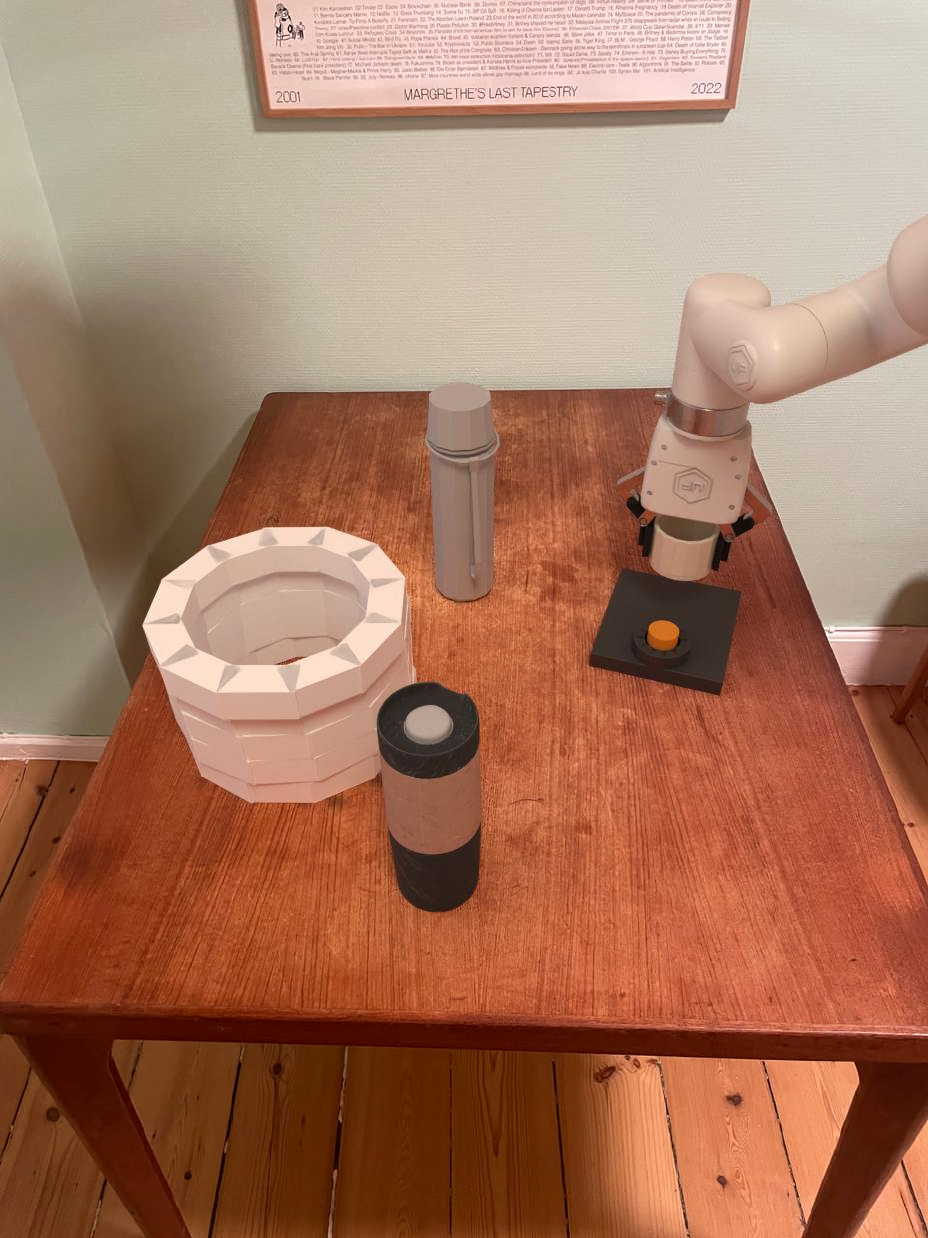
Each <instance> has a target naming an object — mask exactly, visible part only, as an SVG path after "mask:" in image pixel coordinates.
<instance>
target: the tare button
mask: <svg viewBox="0 0 928 1238" xmlns="http://www.w3.org/2000/svg"><path fill="white" fill-rule="evenodd" d="M678 637H679V629H678V627H677V626H676V625H675V624H673V623H671V622H669V621H663V620H660V621H655V622H653V623H652V624H650V626H649V629H648V635H647V642H648V644H649V645H650V646H651V647H653V648H654V649H659V650H663V651H666V650H671V649H673V648H675V647H676V645H677V642H678Z"/></svg>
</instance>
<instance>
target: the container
mask: <svg viewBox="0 0 928 1238" xmlns="http://www.w3.org/2000/svg"><path fill="white" fill-rule="evenodd" d="M412 622H413V620H412V607H411V596H410V595H409V594H408V591H407V578H406V577H405V575H404V574H403V573H402V572H401V571H400V569H399V568H398V567H397V566H396V564H395V563H394V562H393V561H392V560H391V558H389V556H388V555H387V554H386V553H385V552H384V551H383V550H382V548H381V547H380V545H379V544H378V543H375V542H372V541H370V540H367V539H364V538H361V537H358V536H355V535H353V534H349V533H346V532H344V531H341V530H338V529H335V528H333V527H330V526H284V527H283V526H281V527H277V526H276V527H275V526H274V527H272V526H271V527H263V528H261V529H257V530H255V531H251V532H248V533H245V534H241V535H238V536H235V537H231V538H229V539H226V540H225V539H224V540H222V541H219V542H216V543H211V544H208V545H205V547H204V548H201V550H199V551H198V552H196V553H195V554H194V555H192V556H191V557H190V558H188V559H187V560H186V561H185V562H183V563H182V564H180V565H178V567H176V568H175V569H174V570H172V571H170V572H169V573H168V574H167V575H166V576H164V577H163V578H161V580H160V583H159V586H158V589H157V590H156V592H155V595H154V597H153V600H152V601H151V605H150V607H149V609H148V611H147V614H146V616H145V618H144V620H143V623H142V624H141V626H142V628H143V631H144V634H145V638H146V641H147V643H148V647H149V650H150V652H151V654H152V657H153V659H154V662H155V663H156V667H157V668H158V670H159V672H160V673H159V674H160V675H161V678H162V680H163V683H164V686H165V689H166V693H167V695H168V699H169V702H170V706H171V709H172V712H173V715H174V718H175V721H176V723H177V725H178V727H179V729H180V731H181V732H182V734H183V735H184V737H185V739H186V742H187V745H188V747H189V750H190V752H191V754H192V757H193V759H194V762H195V765H196V766H197V769H198V771H199V774H200V777H201V778H204V779H205V780H207V781H209V782H211V783H213V784H215V785H217V786H218V787H220V788H222V789H223V790H226V791H228V792H230V793H231V794H233V795H234V796H237V797H239V798H240V799H242V800H244V801H246V802H248V803H249V804H251V805H253V804H254V803H270V804H271V803H272V804H273V803H274V804H276V803H278V804H279V803H283V804H287V803H288V804H291V803H292V804H293V803H294V804H296V803H297V804H314V805H315V804H317V803H319V802H321V801H324V800H326V799H328V798H330V797H331V798H332V797H333V796H335V795H337V794H340V793H342V792H345V791H348V790H349V789H352V788H354V787H356V786H359V785H361V784H363V783H366V782H368V781H371V780H374V779H375V778H376V777H377V776H378V774H379V773H381V763H380V754H379V744H378V735H377V715H378V712H379V709H380V707H381V705H382V704H383V702H384V701H385V700H386V699H387V698H388V697H389V696H390V695H391V694H392V693H394V692H395V691H397V690H398V689H400V688H403V687H405V686H407V685H410V684H414V683H418V680H417V669H416V667H415V666H414V657H413V635H412V624H411V623H412ZM294 658H300V659H298V660H295V661H293V662H290V663H287V664H281V663H283V662H286V661H289V660H292V659H294ZM301 658H302V659H301Z"/></svg>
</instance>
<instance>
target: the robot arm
mask: <svg viewBox="0 0 928 1238" xmlns="http://www.w3.org/2000/svg"><path fill="white" fill-rule="evenodd" d="M771 304H772V296H771V291H770V289H769V288H768V287H767V285H765V283H763V282H762V281H761V280H759V279H757V278H755V277H752V276H749V275H745V274H741V273H736V272H735V273H734V272H717V273H709V274H705V275H702V276H700V277H698V278H696V279H695V280H694V281H693V282H692V283H691V284H690V285H689V287H688V288H687V289H686V292H685V297H684V300H683V306H682V313H681V320H680V327H679V334H678V339H677V340H678V341H677V348H676V353H675V361H674V367H673V374H672V380H671V381H672V382H671V387H668V389H667V390H666V389H664V390H656V391H655V393H654V398H653V399H654V400H653V405H657V406H658V405H659V406H660V407H662V408H664V411H663V412H662V413H661V416H660V417H659V418H658V420H657V423H656V426H655V428H654V432H653V435H652V436H651V441H650V444H649V449H648V454H647V459H646V464H645V465H644V466H641V467H640V468H638V469H636V470H634V471H632V472H630V473H628V474H626V475H624V476H623V477H620V478H619V479H618V480H617V482H616V484H615V486H614V489H615V491H616V492H617V494H618V495H619V496H620V498H621V499H622V501H624V503H625V506H626V507H627V509H628V510H629V512H631V513H632V515H633V516H634V517H635V518H636V519H637V524H638V525H639V531H638V539H637V546H641V547H642V551H641V558H645V559H646V558H649V553H650V546H651V539H652V533H653V525H654V521H655V518H656V516H657V515H658V514H661V515H666V516H671V517H677V518H682V519H688V520H693V521H699V522H705V523H711V524H718V525H719V528H720V534H719V538H718V541H717V546H716V551H715V556H714V560H713V565H712V570H713V572H719V569H720V566H721V562H724V563H728V560H729V556H730V551H731V547H732V543H733V542H734V541H735V540H736V538H737V537H740V536H741V535H743V534H745V533H747V532H749V531H751V530H753V528H754V527H755V526H756V525H759V524H761V523H763V522H764V521H765V520H767V519H769V518H770V517H771V515H772V512H773V505H772V504H771V503H770V502H769V501H768V500H767V499H766V498H765V497H764V496H763V494H761V493H760V492H759V491H758V490H757V489H756V488H755V487H754V486H753V484H751V482H749V474H750V473H749V472H750V466H751V459H752V446H753V432H752V424H751V422H750V421H749V420H748V414H749V411H750V405H751V404H755V405H767V404H768V405H769V404H773V403H777V402H780V401H782V400H784V399H788V398H791V397H795V396H797V395H800V394H802V393H805V392H807V391H809V390H810V391H811V390H812V389H815V388H818V387H821V386H824V385H826V384H829V383H832V382H835V381H838V380H841V379H844V378H847V377H850V376H853V375H855V374H858V373H859V372H862V371H864V370H865V371H866V370H867V369H870V368H872V367H875V366H876V365H879V364H882V363H884V362H886V361H889V360H891V359H894V358H897V357H899V356H902V355H904V354H906V353H908V352H911V351H913V350H916V349H918V348H921V347H923V346H926V345H928V214H926V215H924V216H922V217H920V218H918V219H916V220H915V221H913V222H911V223H909V224H908V225H907V226H906V227H904V228H903V229H902V230H901V231H900V232H899V233H898V235H897V236H896V238H895V239H894V241H893V242H892V244H891V247H890V250H889V253H888V256H887V262H884V263H883V264H881V265H879V266H878V267H876V268H873V269H872V270H870V271H868V272H866V273H865V274H862V275H861V276H859V277H857V278H854V279H852V280H850V281H848V282H846V283H844V284H842V285H840V286H838V287H835V288H833V289H830V290H827V291H824V292H821V293H817V294H813V295H809V296H806V297H803V298H799V299H796V300H793V301H790V302H787V303H784V304H779V305H778V304H776V305H771ZM639 486H641V494H639V492H636V489H635V488H638V487H639ZM744 502H745V503H746V504H747V505H748V506H749V508H751V510H750V511H747V512H745V513H743V514H741V511H742V508H743V505H744Z"/></svg>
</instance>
